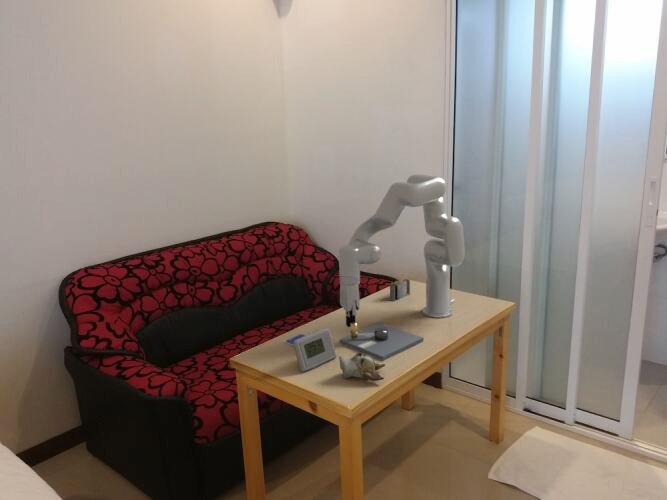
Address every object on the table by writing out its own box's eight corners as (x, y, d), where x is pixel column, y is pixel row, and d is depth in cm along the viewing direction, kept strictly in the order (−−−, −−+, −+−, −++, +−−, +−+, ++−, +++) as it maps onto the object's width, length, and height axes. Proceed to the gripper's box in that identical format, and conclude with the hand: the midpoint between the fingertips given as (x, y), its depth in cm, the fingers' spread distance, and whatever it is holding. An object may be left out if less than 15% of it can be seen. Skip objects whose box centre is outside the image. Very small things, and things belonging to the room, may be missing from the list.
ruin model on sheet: (395, 302, 250) (395, 281, 247) (390, 301, 252) (389, 280, 249) (410, 295, 258) (410, 275, 255) (405, 294, 260) (405, 274, 257)
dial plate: (379, 326, 223) (379, 321, 222) (423, 341, 207) (423, 336, 207) (339, 342, 208) (339, 338, 208) (383, 360, 193) (383, 355, 192)
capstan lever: (387, 334, 210) (386, 319, 208) (388, 340, 205) (388, 324, 203) (350, 336, 210) (350, 320, 208) (351, 341, 205) (350, 325, 203)
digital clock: (301, 374, 185) (299, 344, 183) (288, 364, 193) (286, 336, 190) (342, 361, 194) (341, 333, 191) (328, 352, 201) (327, 325, 198)
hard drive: (285, 340, 210) (307, 349, 202) (301, 333, 216) (324, 342, 207) (285, 344, 211) (308, 353, 202) (301, 337, 216) (324, 346, 208)
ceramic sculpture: (340, 344, 186) (386, 347, 184) (340, 368, 188) (384, 371, 187) (337, 359, 176) (384, 362, 174) (336, 383, 178) (383, 387, 176)
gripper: (334, 274, 211) (335, 320, 215) (346, 286, 197) (347, 334, 201) (353, 272, 213) (354, 317, 217) (366, 283, 199) (367, 331, 203)
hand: (350, 325), depth 209 cm, fingers closed
